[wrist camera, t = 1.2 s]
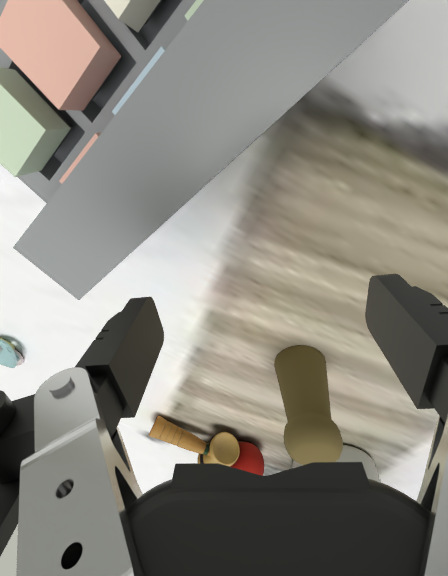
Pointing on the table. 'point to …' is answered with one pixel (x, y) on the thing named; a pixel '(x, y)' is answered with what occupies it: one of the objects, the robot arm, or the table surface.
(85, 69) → the key coral
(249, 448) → the kendama
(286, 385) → the olive ball-ended cylinder
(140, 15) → the key cream
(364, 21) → the keypad
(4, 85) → the key sage
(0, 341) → the pacifier
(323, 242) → the table surface
